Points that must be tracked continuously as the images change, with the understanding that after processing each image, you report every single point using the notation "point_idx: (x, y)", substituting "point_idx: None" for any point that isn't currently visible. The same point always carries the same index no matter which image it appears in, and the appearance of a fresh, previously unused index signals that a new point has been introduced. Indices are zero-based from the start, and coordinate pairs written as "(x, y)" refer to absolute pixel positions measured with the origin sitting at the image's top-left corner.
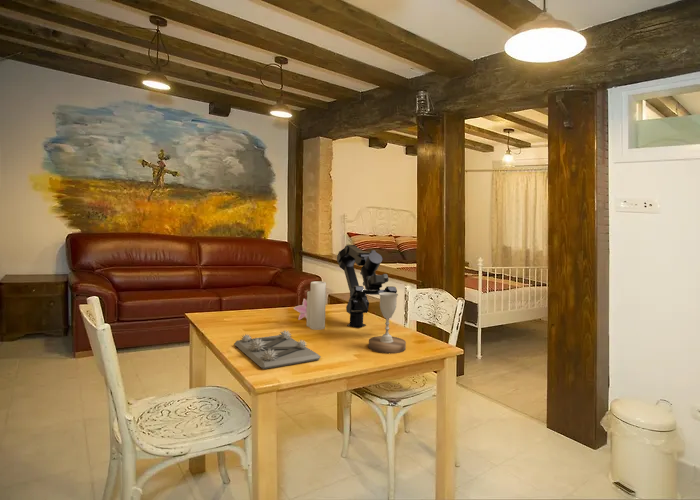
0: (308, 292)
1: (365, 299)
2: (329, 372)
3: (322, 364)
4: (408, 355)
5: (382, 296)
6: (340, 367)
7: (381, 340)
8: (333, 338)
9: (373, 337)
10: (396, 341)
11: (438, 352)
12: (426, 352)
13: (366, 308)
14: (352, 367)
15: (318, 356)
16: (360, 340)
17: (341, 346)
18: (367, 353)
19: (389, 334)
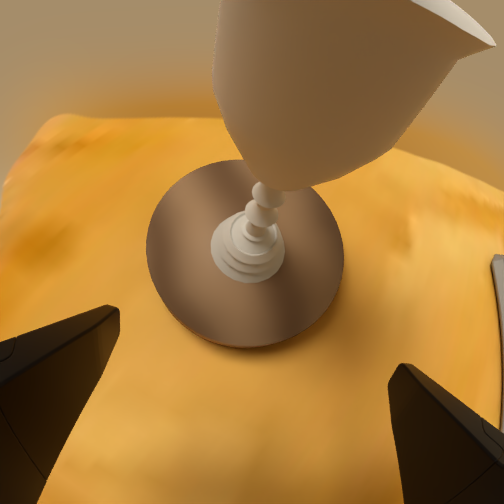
0: None
1: (484, 441)
2: (475, 183)
3: (485, 231)
4: (230, 143)
5: (443, 15)
6: (457, 190)
7: (282, 250)
8: (386, 481)
9: (278, 336)
10: (207, 213)
11: (111, 121)
12: (144, 136)
13: (420, 378)
14: (434, 172)
15: (498, 256)
16: (295, 420)
17: (413, 364)
18: (363, 237)
19: (230, 235)
